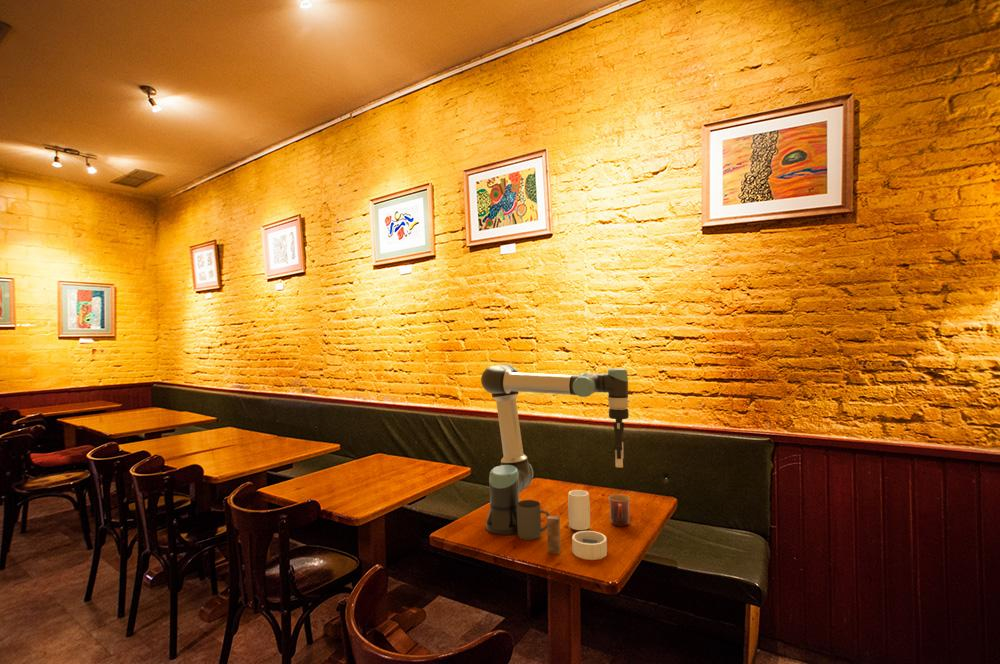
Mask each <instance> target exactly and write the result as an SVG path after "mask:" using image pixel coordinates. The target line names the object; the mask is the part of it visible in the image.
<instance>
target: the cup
mask: <svg viewBox="0 0 1000 664" xmlns="http://www.w3.org/2000/svg"><path fill="white" fill-rule="evenodd" d="M567 498H568V499H567V511H568V524H569V527H570V529H572V530H575V531H587V530H588V529H590V527H591V505H590V504H591V502H590V494H589V492H588V491H587V490H581V489H574V490H570V491H569V492H568V496H567Z"/></svg>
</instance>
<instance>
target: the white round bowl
mask: <svg viewBox="0 0 1000 664" xmlns="http://www.w3.org/2000/svg"><path fill="white" fill-rule="evenodd" d="M571 541H572V542H571V548H572V553H573V554H574V556H575V557H577V558H579V559H582V560H587V561H588V560H590V561H594V560H602V559H603V558H605V557H607V553H608V540H607V536H606V535H604V534H603V533H601V532H599V531H595V530H579V531H576V532H575V533H573V534H572V537H571Z"/></svg>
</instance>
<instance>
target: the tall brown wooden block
mask: <svg viewBox="0 0 1000 664" xmlns="http://www.w3.org/2000/svg"><path fill="white" fill-rule="evenodd" d="M546 525H547V529H546V533H547V535H546V536H547V537H546V538H547V553H548V554H553V555H560V554H561V526H560V516H555V515H554V516H553V515H550V516H548V517H547V516H546Z"/></svg>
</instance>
